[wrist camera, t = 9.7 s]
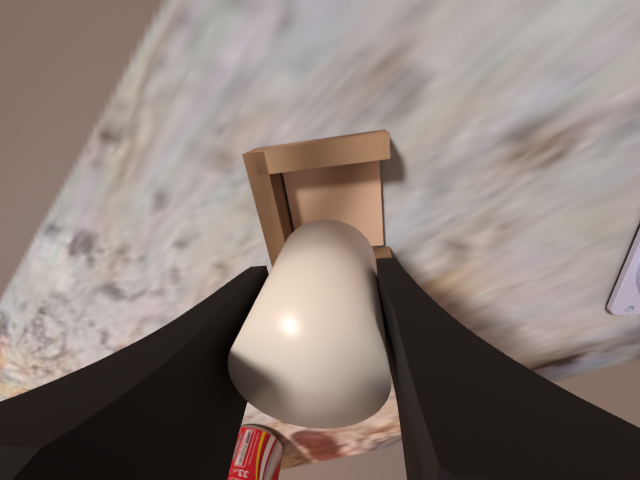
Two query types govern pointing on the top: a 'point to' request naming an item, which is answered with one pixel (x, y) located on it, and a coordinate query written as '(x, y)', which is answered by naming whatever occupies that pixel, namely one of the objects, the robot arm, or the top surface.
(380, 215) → the open-sided tray
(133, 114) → the top surface
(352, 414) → the cream plug
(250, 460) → the soda can
